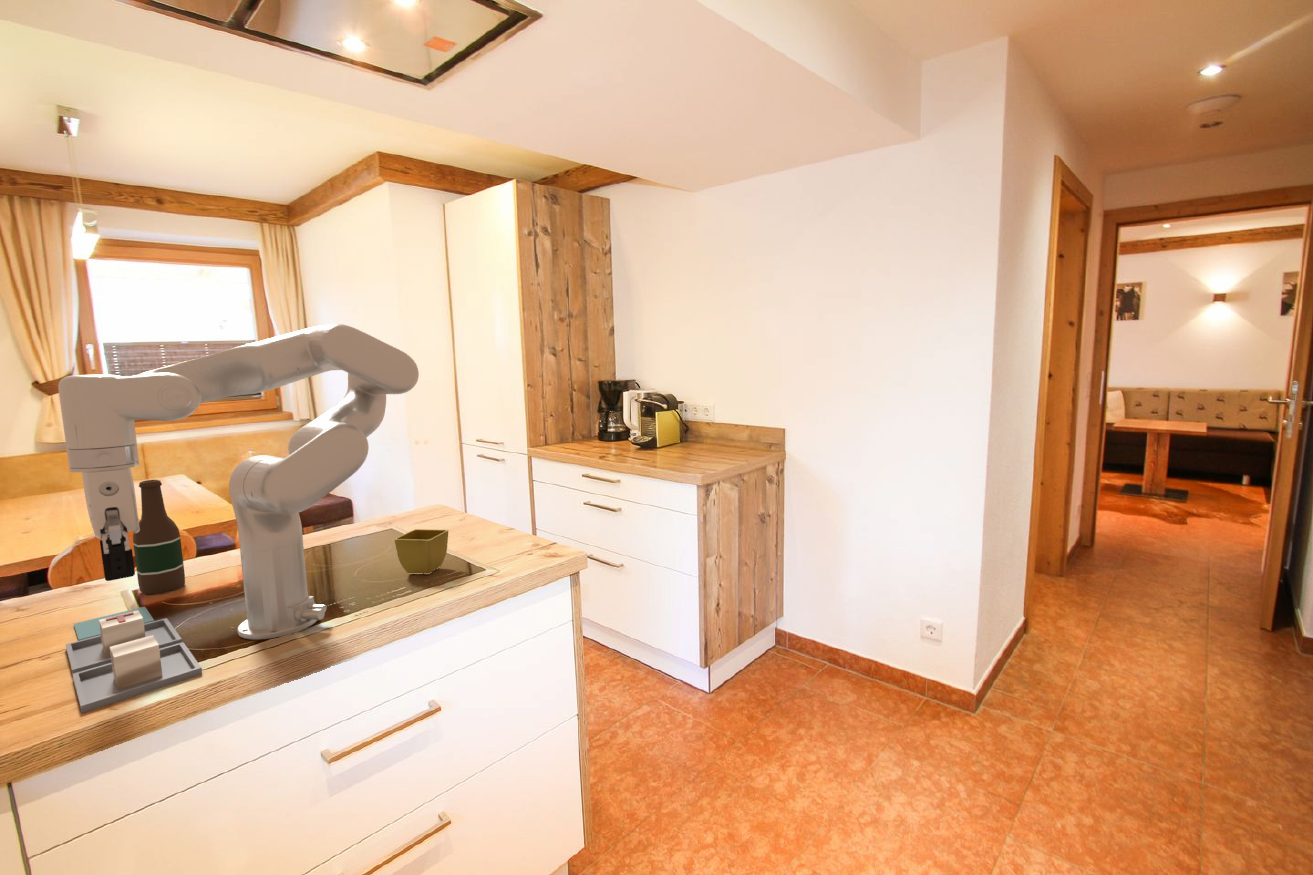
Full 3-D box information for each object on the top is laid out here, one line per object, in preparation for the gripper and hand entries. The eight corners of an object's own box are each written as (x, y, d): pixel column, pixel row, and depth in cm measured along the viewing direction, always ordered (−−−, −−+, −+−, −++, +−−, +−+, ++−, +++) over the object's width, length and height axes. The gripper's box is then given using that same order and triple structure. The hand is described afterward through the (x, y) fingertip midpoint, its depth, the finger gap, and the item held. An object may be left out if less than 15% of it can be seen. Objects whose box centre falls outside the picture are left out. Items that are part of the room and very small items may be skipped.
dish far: (182, 646, 98) (181, 638, 98) (73, 678, 88) (72, 669, 88) (167, 625, 107) (166, 617, 107) (66, 651, 97) (65, 644, 97)
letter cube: (146, 646, 98) (142, 616, 97) (106, 657, 94) (102, 627, 94) (141, 637, 101) (138, 609, 101) (102, 648, 97) (98, 618, 97)
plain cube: (162, 675, 88) (158, 644, 87) (118, 689, 84) (113, 657, 84) (156, 665, 91) (152, 635, 91) (113, 677, 88) (109, 646, 87)
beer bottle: (158, 596, 121) (145, 484, 118) (129, 594, 123) (115, 483, 120) (195, 583, 129) (182, 477, 126) (167, 581, 130) (154, 476, 127)
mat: (154, 624, 107) (154, 620, 107) (79, 643, 100) (78, 639, 100) (145, 610, 114) (145, 606, 114) (74, 627, 106) (73, 623, 106)
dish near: (202, 676, 88) (201, 667, 88) (82, 715, 79) (80, 706, 78) (184, 649, 97) (183, 641, 97) (73, 682, 87) (72, 673, 87)
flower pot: (417, 564, 138) (414, 528, 137) (451, 565, 137) (449, 529, 136) (396, 577, 130) (393, 539, 129) (432, 579, 129) (429, 540, 128)
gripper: (142, 461, 81) (156, 577, 83) (134, 450, 94) (146, 552, 96) (67, 468, 76) (84, 592, 78) (68, 456, 88) (83, 563, 90)
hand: (118, 570), depth 87 cm, fingers open, 9 cm apart
